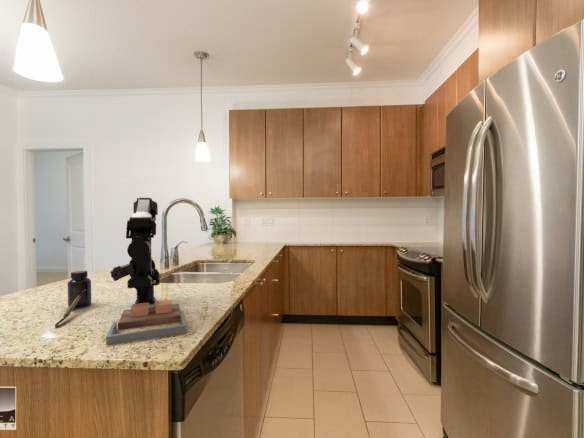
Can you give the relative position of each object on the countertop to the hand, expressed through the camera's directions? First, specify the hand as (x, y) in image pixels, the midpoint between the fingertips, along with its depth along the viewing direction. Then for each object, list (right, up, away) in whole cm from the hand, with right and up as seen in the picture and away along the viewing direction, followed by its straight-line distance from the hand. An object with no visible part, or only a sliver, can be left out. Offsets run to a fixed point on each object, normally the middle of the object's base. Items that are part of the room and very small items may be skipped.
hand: (142, 303), depth 95 cm
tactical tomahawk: (-21, -5, -4) cm, 22 cm away
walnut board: (+6, -4, -6) cm, 9 cm away
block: (+9, -1, -4) cm, 10 cm away
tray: (+10, -4, -16) cm, 20 cm away
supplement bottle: (-27, -4, +10) cm, 29 cm away
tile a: (+3, -1, -7) cm, 7 cm away
